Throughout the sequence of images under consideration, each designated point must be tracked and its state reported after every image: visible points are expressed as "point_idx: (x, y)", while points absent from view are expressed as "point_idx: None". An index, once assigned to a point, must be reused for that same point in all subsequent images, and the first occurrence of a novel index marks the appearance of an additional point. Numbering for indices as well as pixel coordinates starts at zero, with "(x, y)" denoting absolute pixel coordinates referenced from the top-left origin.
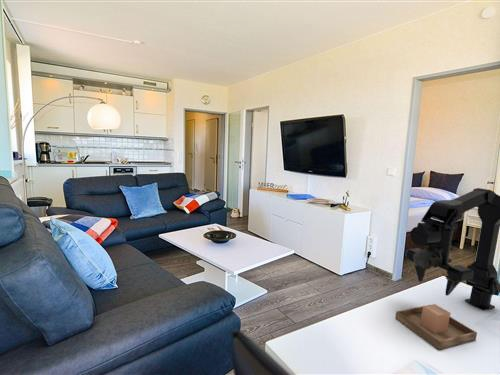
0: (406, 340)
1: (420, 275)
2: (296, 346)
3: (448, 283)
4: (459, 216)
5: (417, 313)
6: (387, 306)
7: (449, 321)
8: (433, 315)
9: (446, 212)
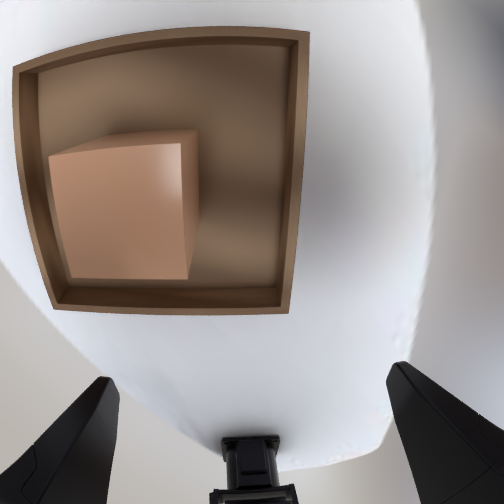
0: None
1: (423, 412)
2: None
3: (26, 482)
4: None
5: (282, 203)
6: (400, 116)
7: (165, 294)
8: (89, 147)
9: None
